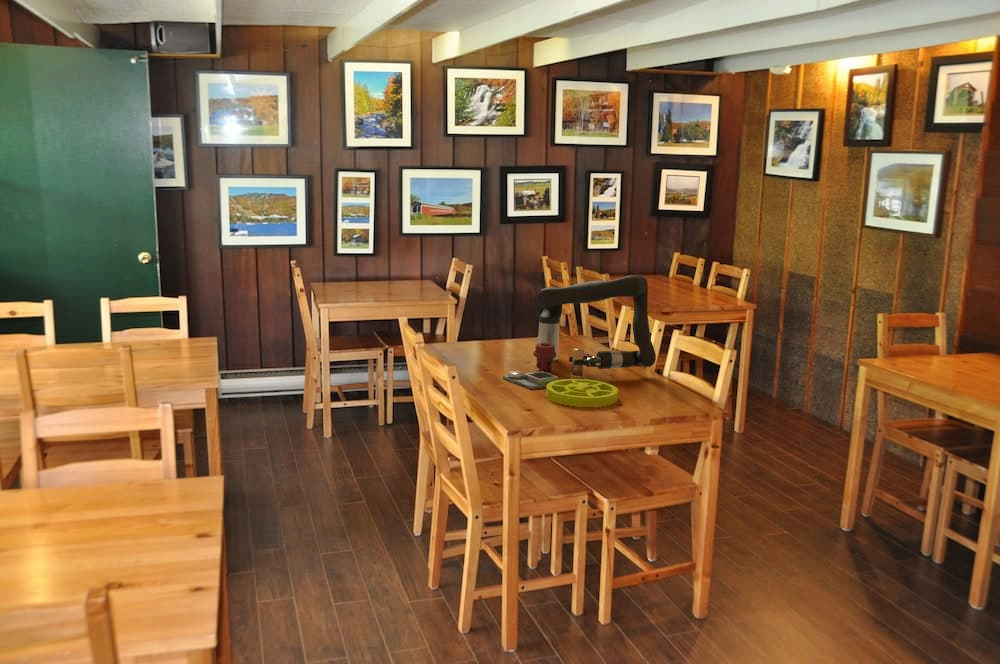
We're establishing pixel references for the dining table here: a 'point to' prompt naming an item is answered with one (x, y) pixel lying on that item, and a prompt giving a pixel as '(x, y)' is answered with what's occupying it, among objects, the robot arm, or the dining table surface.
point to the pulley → (581, 392)
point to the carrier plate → (531, 379)
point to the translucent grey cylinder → (577, 369)
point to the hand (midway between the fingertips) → (572, 361)
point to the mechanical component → (544, 356)
